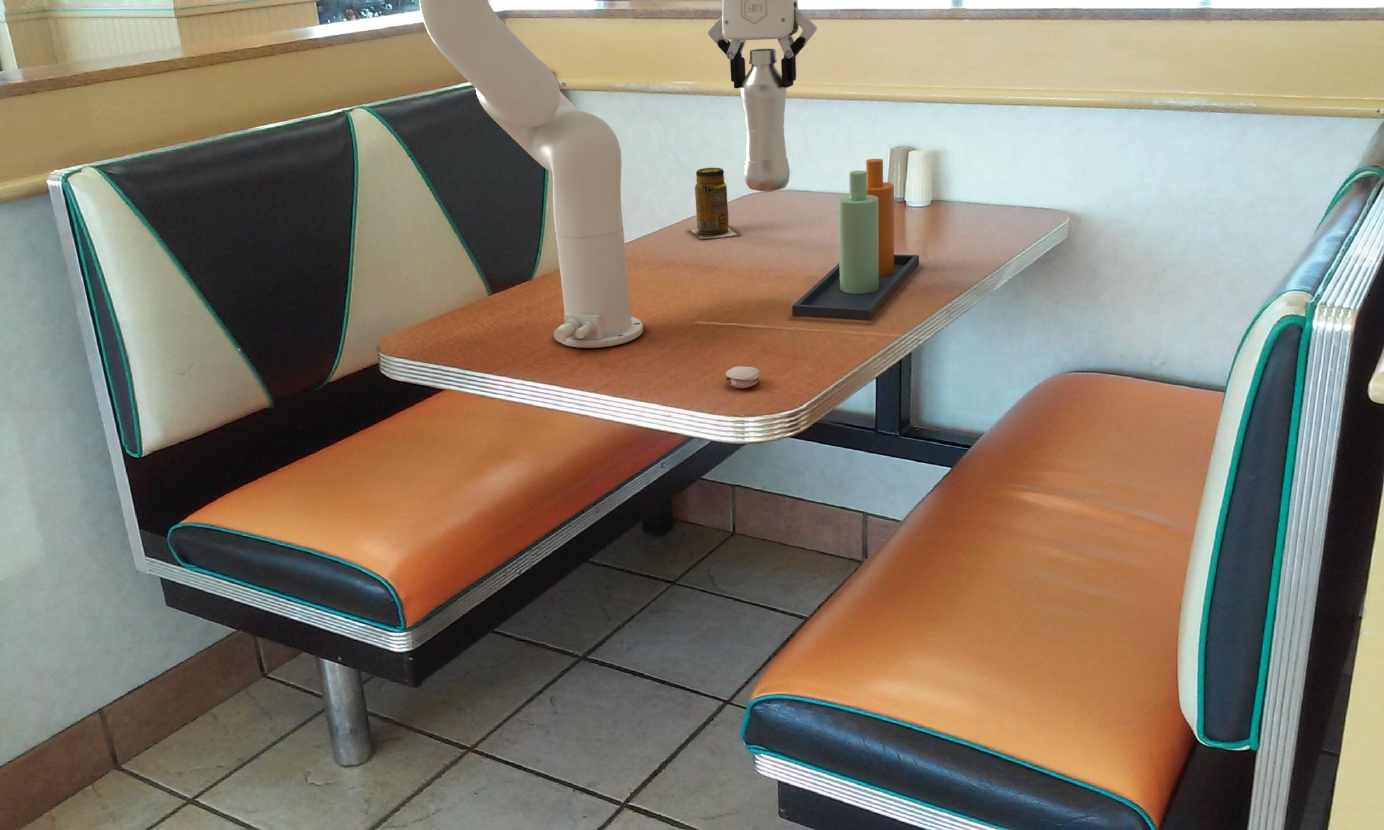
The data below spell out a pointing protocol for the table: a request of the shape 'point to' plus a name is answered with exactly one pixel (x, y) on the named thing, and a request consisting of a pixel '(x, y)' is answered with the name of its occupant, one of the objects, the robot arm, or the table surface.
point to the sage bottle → (858, 237)
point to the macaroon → (742, 376)
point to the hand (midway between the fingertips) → (763, 85)
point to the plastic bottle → (765, 123)
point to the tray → (842, 305)
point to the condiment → (711, 204)
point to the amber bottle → (882, 214)
